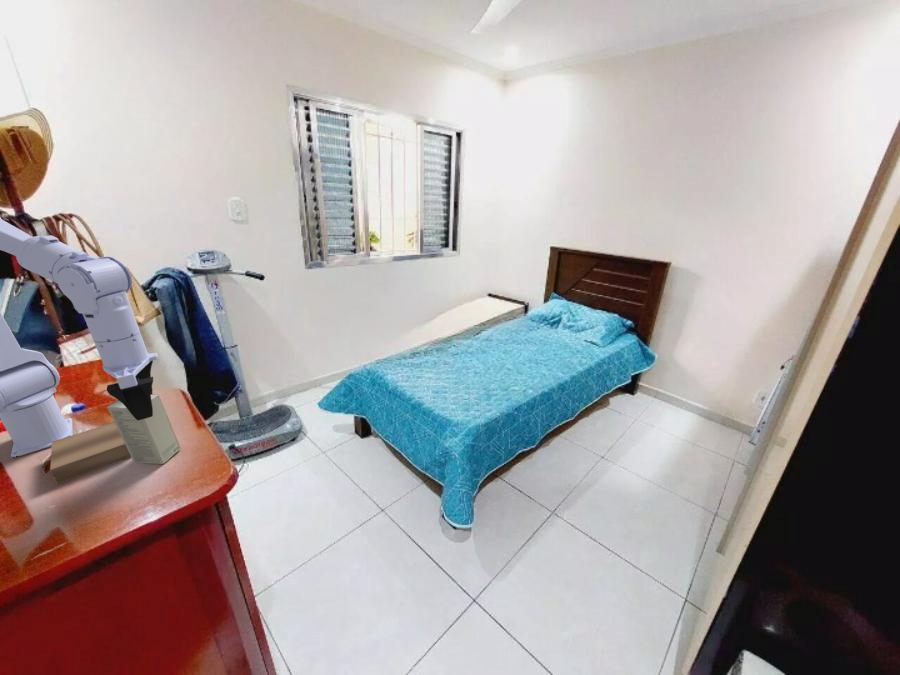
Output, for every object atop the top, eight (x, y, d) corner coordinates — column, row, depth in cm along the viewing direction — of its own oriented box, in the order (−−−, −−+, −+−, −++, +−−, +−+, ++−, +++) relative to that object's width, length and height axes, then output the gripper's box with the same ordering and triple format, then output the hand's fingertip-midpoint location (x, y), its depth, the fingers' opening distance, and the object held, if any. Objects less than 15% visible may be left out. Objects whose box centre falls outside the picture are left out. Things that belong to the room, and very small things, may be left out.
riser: (58, 454, 67) (51, 441, 66) (128, 431, 73) (123, 419, 72) (57, 484, 60) (50, 469, 59) (134, 455, 67) (129, 442, 66)
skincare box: (182, 448, 68) (162, 394, 64) (162, 465, 64) (139, 408, 60) (151, 446, 69) (129, 392, 64) (130, 463, 65) (105, 406, 60)
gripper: (148, 342, 55) (175, 418, 60) (148, 319, 66) (171, 384, 71) (85, 355, 51) (119, 434, 56) (96, 327, 62) (124, 396, 67)
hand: (145, 407), depth 63 cm, fingers open, 7 cm apart
